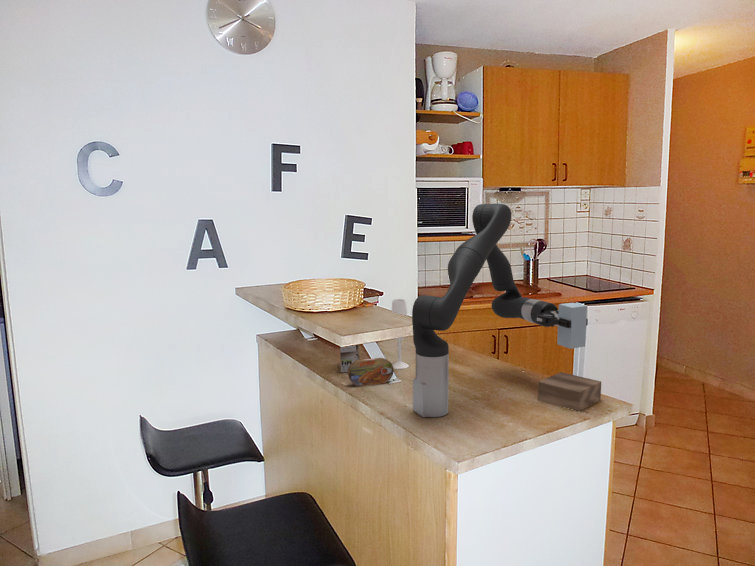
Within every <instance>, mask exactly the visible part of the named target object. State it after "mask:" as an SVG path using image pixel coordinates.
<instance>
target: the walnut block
mask: <svg viewBox="0 0 755 566" xmlns="http://www.w3.org/2000/svg"><path fill="white" fill-rule="evenodd" d="M537 387H538V388H537V391H538V392H537V401H539V402H543V403H545V404H546V403H547V404H551V405H553V404H554V406H558V407H560V406H561V407H560V408H564V407H565V408H564V409H567V408H569V409H568V410H571V409H573V410H572V411H574V410H576V411H575V412H578V411H580V412H581V411H583V410H585V409H587V408H589V407H591V406H592V405H594V404H596V403H598V402H600V401H601V396H602V380H600V381H599V380H596V379H593V378H588V377H583V376H578V375H574V374H570V373H567V372H562V371H561V372H558V373H556V374H553V375H551V376H549V377H547V378H544V379H541V380H539V381H538V386H537ZM597 401H598V402H597ZM595 402H596V403H595ZM593 403H594V404H593ZM591 404H592V405H591ZM590 405H591V406H590ZM588 406H589V407H588ZM586 407H587V408H586ZM584 408H585V409H584ZM582 409H583V410H582Z"/></svg>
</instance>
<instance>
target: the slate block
mask: <svg viewBox="0 0 755 566" xmlns="http://www.w3.org/2000/svg"><path fill="white" fill-rule="evenodd" d="M558 310H559V312H558V317H560V318H563V319H567V320H570V321H571V328H566V327H562V326H557V338H556V339H557V342H556V343H557V344H556V345H559V346H561V347H564V348H567V349H569V350H571V349H578V348H583V347H586V340H587V339H586V338H587V336H586V334H587V326H586V320H587V319H588V305H585V304H581V303H576V302H569V303H568V302H567V303H560V304H558Z"/></svg>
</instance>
